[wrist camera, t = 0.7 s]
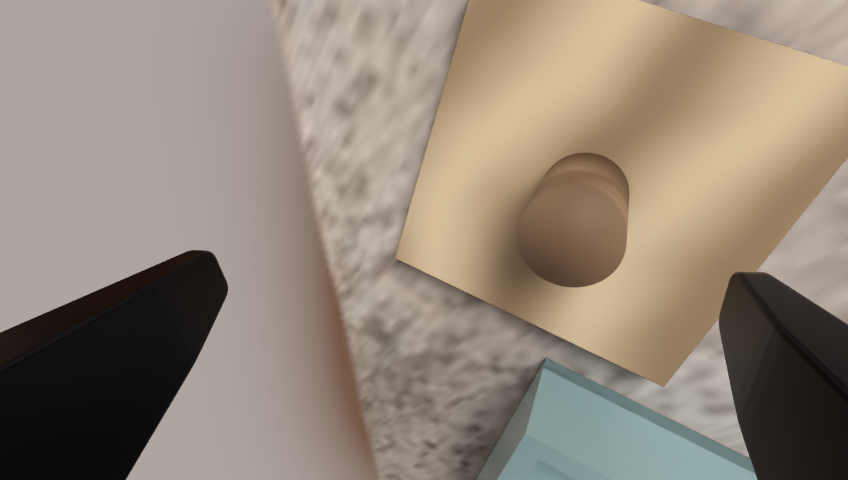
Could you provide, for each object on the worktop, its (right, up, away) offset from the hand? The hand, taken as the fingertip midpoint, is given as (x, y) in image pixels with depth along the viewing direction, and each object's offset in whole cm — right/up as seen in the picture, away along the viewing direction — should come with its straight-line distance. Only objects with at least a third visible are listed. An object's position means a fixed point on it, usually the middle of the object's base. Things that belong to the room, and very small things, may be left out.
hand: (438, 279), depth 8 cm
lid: (+6, +3, +10) cm, 12 cm away
